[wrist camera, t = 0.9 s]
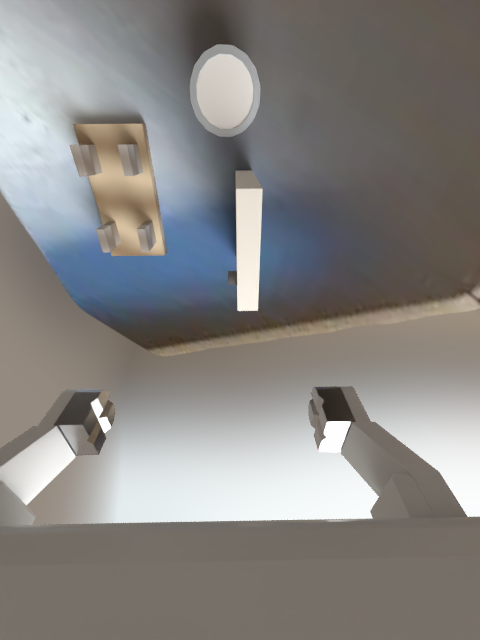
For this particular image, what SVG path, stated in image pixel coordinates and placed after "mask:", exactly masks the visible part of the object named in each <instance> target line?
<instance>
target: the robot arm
mask: <svg viewBox="0 0 480 640" xmlns="http://www.w3.org/2000/svg"><path fill="white" fill-rule="evenodd" d="M311 394H312V398H313V399H312V400H310V402H309V419H310V423H311V425H312V426H313V427H314V428H315V433H314V437H315V441H316V444H317V448H318V451H321V452H322V451H323V452H325V451H326V452H341V454H342V455H343V456H344V457H345V459H347V461H348V462H349V463H350V464H351V465H352V466H353V468H354V469H355V470H356V471H357V472H358V473H359V474H360V475H361V477H362V478H363V479H364V480H365V481H366V482H367V483H368V485H369V486H370V487H371V488H372V489H373V490H374V491H375V493H376V494H377V495H378V496H379V498H378V500H377V501H376V503H375V504H374V506H373V508H372V510H371V514H372V517H373V519H331V520H330V519H328V520H276V521H275V520H272V521H220V522H219V521H217V522H160V523H107V524H56V525H55V524H54V525H53V524H52V525H51V524H49V525H32V523H33V521H34V520H35V514H34V513H33V512H32V511H31V510H30V509H29V508H28V507H27V506H26V505H27V504H28V503H29V502H30V501H31V500H32V499H33V498H34V497H35V496H36V495H37V494H38V493H39V492H40V491H41V490H42V489H43V488H44V487H45V486H46V485H47V484H48V483H49V482H50V481H52V480H53V479H54V478H55V477H56V476H57V475H58V474H59V473H60V472H61V471H62V470H63V469H64V468H65V467H66V466H67V465H68V464H69V463H70V462H71V461H72V460H73V459H74V458H75V457H76V455H99V453H100V450H101V448H102V446H103V444H104V442H105V440H106V436H105V432H106V431H107V430H108V429H110V428H111V426H112V424H113V421H114V415H115V408H114V405H113V403H112V402H110V401H109V400H108V399H109V397H110V395H109V393H108V391H107V390H87V389H79V390H78V389H76V390H75V389H66V390H65V391H63V392H62V393H61V394H60V396H59V397H58V398H57V400H56V401H55V403H54V404H53V406H52V407H51V408H50V410H49V411H48V412H47V414H46V415H45V417H44V418H43V419H42V421H41V422H40V424H39V425H38V426H33V427H32V428H30V429H29V430H27V431H26V432H24V433H23V434H21V435H20V436H18V437H17V438H15V439H14V440H12V441H11V442H9V443H8V444H6V445H5V446H3V447H2V448H0V640H480V517H467V515H466V514H465V512H464V511H463V509H462V507H461V506H460V504H459V503H458V501H457V499H456V498H455V496H454V495H453V493H452V492H451V490H450V488H449V487H448V485H447V484H446V482H445V480H444V479H443V477H442V476H441V474H440V473H439V472H438V471H437V470H436V469H435V468H433V467H432V466H431V465H429V464H428V463H427V462H426V461H424V460H423V459H422V458H420V457H419V456H418V455H417V454H415V453H414V452H413V451H411V450H410V449H409V448H408V447H406V446H405V445H404V444H402V443H401V442H400V441H398V440H397V439H396V438H395V437H394V436H392V435H391V434H389V433H388V432H387V431H386V430H385V429H383V428H382V427H381V426H379V425H378V424H377V423H375V422H371V421H370V419H369V417H368V415H367V413H366V411H365V409H364V407H363V405H362V403H361V401H360V399H359V397H358V396H357V393H356V391H355V389H354V388H353V387H314V388H313V389H312V393H311Z"/></svg>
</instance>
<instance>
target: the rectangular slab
mask: <svg viewBox="0 0 480 640" xmlns="http://www.w3.org/2000/svg"><path fill="white" fill-rule="evenodd" d="M235 178H236V252H237V271H228V283H229V285H237V305H238V311H258V292H259V266H260V241H261V215H262V187H261V185H260V183H259V182H258V180H257V178H256V177H255V175H254V173H253V172H252V170H248V171H235Z"/></svg>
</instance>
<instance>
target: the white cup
mask: <svg viewBox="0 0 480 640" xmlns="http://www.w3.org/2000/svg"><path fill="white" fill-rule="evenodd" d="M190 99H191V104H192V107H193V109H194V112H195V115H196V117H197V119H198V120H199V121H200V123H201V124H202V125H203V126H204V127H205V129H206V130H207V131H209V132H211V133H213V134H215V135H217V136H219V137H233V136H235V135H237V134H239V133H242V132H244V131H245V129H246V128H247V127H248V126H249V125H250V124H251V123H252V121H253V120H254V118H255V115H256V112H257V110H258V107H259V104H260V83H259V79H258V75H257V71H256V68H255V66H254V65H253V63H252V62H251V60H250V59H249V57H248V56H247V54H246V53H244V52H243V51H241V50H240V49H238V48H237V47H235V46H233V45H222V44H217V45H215V46H213V47H212V48H210V49H208V50H206V51H204V52H203V54H202V55H201V57H200V58H199V59H198V61H197V62H196V64H195V65H194V68H193V72H192V76H191V80H190Z"/></svg>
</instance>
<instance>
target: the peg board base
mask: <svg viewBox="0 0 480 640" xmlns="http://www.w3.org/2000/svg"><path fill="white" fill-rule="evenodd" d="M73 125H74V129H75V132H76V135H77V139H78V142H79V145H70V148H71V151H72V155H73V158H74V161H75V164H76V167H77V171H78V174H79V176H89V180H90V183H91V186H92V190H93V193H94V197H95V200H96V203H97V207H98V210H99V214H100V217H101V220H102V224H103V225H102V226H101V227H99V228H98V229H96V231H97V235H98V238H99V241H100V244H101V247H102V251H103V252H111V254H112V256H142V255H165V254H166V253H167V249H166V243H165V237H164V231H163V225H162V219H161V213H160V208H159V202H158V196H157V190H156V184H155V178H154V172H153V166H152V160H151V154H150V148H149V142H148V137H147V131H146V125H145V124H73Z"/></svg>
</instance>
